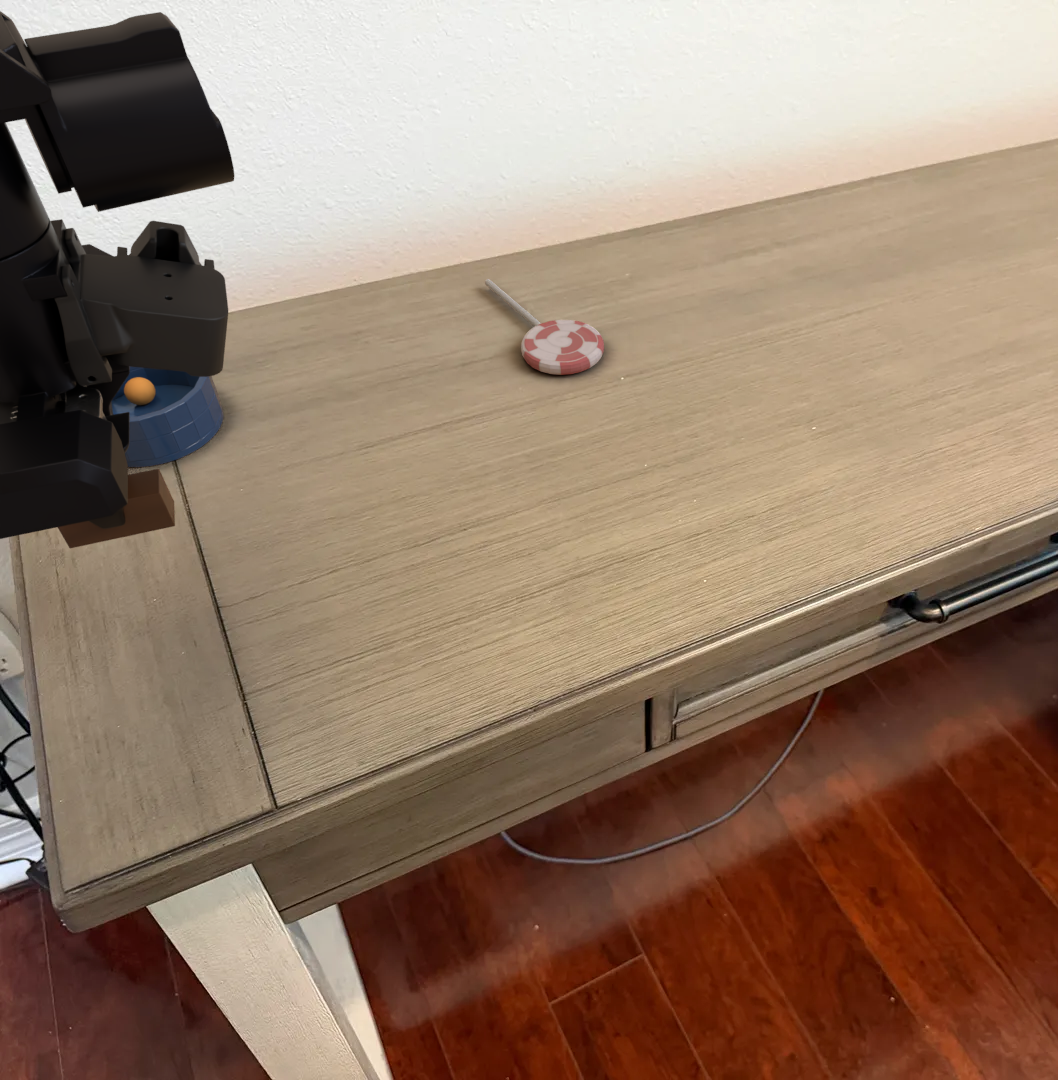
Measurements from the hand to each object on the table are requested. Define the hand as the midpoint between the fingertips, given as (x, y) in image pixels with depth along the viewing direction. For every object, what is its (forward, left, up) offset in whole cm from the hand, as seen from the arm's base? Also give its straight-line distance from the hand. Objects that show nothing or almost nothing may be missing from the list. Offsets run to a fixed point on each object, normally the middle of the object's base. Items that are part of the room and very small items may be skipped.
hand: (115, 510), depth 53 cm
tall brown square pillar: (0, 0, -1) cm, 1 cm away
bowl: (-1, +22, -11) cm, 25 cm away
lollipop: (+28, +25, -11) cm, 39 cm away
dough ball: (-1, +24, -9) cm, 26 cm away
